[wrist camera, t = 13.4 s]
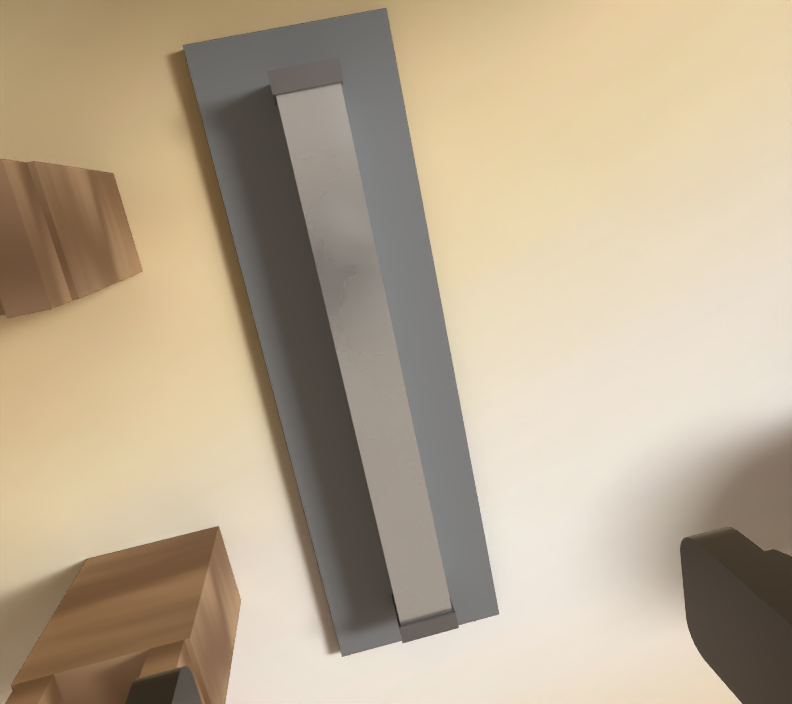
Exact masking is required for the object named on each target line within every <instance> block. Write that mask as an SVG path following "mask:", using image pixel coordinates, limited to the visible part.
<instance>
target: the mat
mask: <svg viewBox="0 0 792 704" xmlns="http://www.w3.org/2000/svg"><path fill="white" fill-rule="evenodd" d="M183 48H184V52H185V56H186V60H187V64H188V68H189V71H190V75H191V79H192V83H193V87H194V91H195V94H196V98H197V102H198V106H199V110H200V114H201V117H202V121H203V125H204V129H205V133H206V137H207V140H208V144H209V148H210V152H211V156H212V160H213V163H214V167H215V171H216V175H217V179H218V183H219V186H220V190H221V194H222V198H223V202H224V206H225V209H226V213H227V217H228V221H229V225H230V229H231V232H232V236H233V240H234V244H235V248H236V252H237V255H238V259H239V263H240V267H241V271H242V275H243V278H244V282H245V286H246V290H247V294H248V298H249V301H250V305H251V309H252V313H253V317H254V321H255V324H256V328H257V332H258V336H259V340H260V344H261V347H262V351H263V355H264V359H265V363H266V367H267V370H268V374H269V378H270V382H271V386H272V390H273V393H274V397H275V401H276V405H277V409H278V413H279V416H280V420H281V424H282V428H283V432H284V436H285V439H286V443H287V447H288V451H289V455H290V459H291V462H292V466H293V470H294V474H295V478H296V482H297V485H298V489H299V493H300V497H301V501H302V505H303V508H304V512H305V516H306V520H307V524H308V528H309V531H310V535H311V539H312V543H313V547H314V551H315V554H316V558H317V562H318V566H319V570H320V574H321V577H322V581H323V585H324V589H325V593H326V597H327V600H328V604H329V608H330V612H331V616H332V620H333V623H334V627H335V631H336V635H337V639H338V643H339V646H340V650H341V654H342V657H343V656H347V655H351V654H354V653H358V652H362V651H365V650H369V649H373V648H376V647H380V646H384V645H388V644H391V643H395V642H399V641H402V638H401V634H400V630H399V625H398V621H397V617H396V612H395V608H394V603H393V599H392V595H391V594H393V590H392V586H391V582H390V577H389V573H388V569H387V565H386V560H385V556H384V552H383V548H382V544H381V539H380V535H379V531H378V527H377V522H376V518H375V514H374V510H373V505H372V501H371V497H370V493H369V488H368V484H367V480H366V476H365V471H364V467H363V463H362V459H361V455H360V450H359V446H358V442H357V438H356V433H355V429H354V425H353V421H352V416H351V412H350V408H349V404H348V399H347V395H346V391H345V387H344V382H343V378H342V374H341V370H340V365H339V361H338V357H337V353H336V349H335V344H334V340H333V336H332V332H331V327H330V323H329V319H328V315H327V310H326V306H325V302H324V298H323V293H322V289H321V285H320V281H319V276H318V272H317V268H316V264H315V260H314V255H313V251H312V247H311V243H310V238H309V234H308V230H307V226H306V221H305V217H304V213H303V209H302V204H301V200H300V196H299V192H298V187H297V183H296V179H295V175H294V170H293V166H292V162H291V158H290V154H289V149H288V145H287V141H286V137H285V132H284V128H283V124H282V120H281V115H280V111H279V107H278V105H275V101H274V98H273V94H272V90H271V85H270V81H269V77H268V73H267V71H272V70H277V69H282V68H287V67H292V66H297V65H303V64H308V63H313V62H318V61H323V60H328V59H334V58H339V61H340V65H341V70H342V75H343V80H344V82H343V85H342V91H343V95H344V100H345V105H346V110H347V114H348V119H349V124H350V129H351V133H352V138H353V143H354V147H355V152H356V157H357V162H358V166H359V171H360V176H361V181H362V185H363V190H364V195H365V200H366V204H367V209H368V214H369V218H370V223H371V228H372V233H373V237H374V242H375V247H376V252H377V256H378V261H379V266H380V270H381V275H382V280H383V285H384V289H385V294H386V299H387V304H388V308H389V313H390V318H391V322H392V327H393V332H394V337H395V341H396V346H397V351H398V356H399V360H400V365H401V370H402V375H403V379H404V384H405V389H406V393H407V398H408V403H409V408H410V412H411V417H412V422H413V427H414V431H415V436H416V441H417V445H418V450H419V455H420V460H421V464H422V469H423V474H424V479H425V483H426V488H427V493H428V497H429V502H430V507H431V512H432V516H433V521H434V526H435V531H436V535H437V540H438V545H439V550H440V554H441V559H442V564H443V568H444V573H445V578H446V583H447V587H448V592H449V596H450V599H451V602H452V604H453V607H454V610H455V613H456V617H457V622H458V625H461V624H465V623H468V622H472V621H476V620H480V619H483V618H487V617H491V616H494V615H498V614H499V610H498V605H497V600H496V594H495V589H494V584H493V578H492V573H491V567H490V562H489V557H488V551H487V546H486V541H485V535H484V530H483V524H482V519H481V514H480V508H479V503H478V498H477V492H476V487H475V482H474V476H473V471H472V465H471V460H470V455H469V449H468V444H467V439H466V433H465V428H464V422H463V417H462V412H461V406H460V401H459V396H458V390H457V385H456V380H455V374H454V369H453V363H452V358H451V353H450V347H449V342H448V337H447V331H446V326H445V320H444V315H443V310H442V304H441V299H440V294H439V288H438V283H437V278H436V272H435V267H434V261H433V256H432V251H431V245H430V240H429V235H428V229H427V224H426V219H425V213H424V208H423V202H422V197H421V192H420V186H419V181H418V176H417V170H416V165H415V159H414V154H413V149H412V143H411V138H410V133H409V127H408V122H407V117H406V111H405V106H404V100H403V95H402V90H401V84H400V79H399V74H398V68H397V63H396V57H395V52H394V47H393V41H392V36H391V31H390V25H389V20H388V15H387V9H386V8H383V9H378V10H372V11H367V12H361V13H356V14H350V15H345V16H339V17H334V18H329V19H323V20H318V21H312V22H307V23H301V24H296V25H290V26H285V27H280V28H274V29H269V30H263V31H258V32H252V33H247V34H241V35H236V36H230V37H225V38H220V39H214V40H209V41H203V42H198V43H192V44H187V45H183Z"/></svg>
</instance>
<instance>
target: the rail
mask: <svg viewBox="0 0 792 704" xmlns="http://www.w3.org/2000/svg"><path fill="white" fill-rule="evenodd" d="M267 73H268V77H269V81H270V85H271V90H272V94H273V98H274V101H275V105H278V107H279V111H280V115H281V120H282V124H283V128H284V132H285V137H286V141H287V145H288V149H289V154H290V158H291V162H292V166H293V170H294V175H295V179H296V183H297V187H298V192H299V196H300V200H301V204H302V209H303V213H304V217H305V221H306V226H307V230H308V234H309V238H310V243H311V247H312V251H313V255H314V260H315V264H316V268H317V272H318V276H319V281H320V285H321V289H322V293H323V298H324V302H325V306H326V310H327V315H328V319H329V323H330V327H331V332H332V336H333V340H334V344H335V349H336V353H337V357H338V361H339V365H340V370H341V374H342V378H343V382H344V387H345V391H346V395H347V399H348V404H349V408H350V412H351V416H352V421H353V425H354V429H355V433H356V438H357V442H358V446H359V450H360V455H361V459H362V463H363V467H364V471H365V476H366V480H367V484H368V488H369V493H370V497H371V501H372V505H373V510H374V514H375V518H376V522H377V527H378V531H379V535H380V539H381V544H382V548H383V552H384V556H385V560H386V565H387V569H388V573H389V577H390V582H391V586H392V590H393V594H391V595H392V599H393V603H394V608H395V612H396V617H397V621H398V625H399V630H400V634H401V638H402V642H403V643H405V642H409V641H413V640H416V639H420V638H423V637H427V636H431V635H434V634H438V633H442V632H445V631H449V630H452V629H456V628H459V627H458V622H457V617H456V613H455V610H454V607H453V604H452V602H451V599H450V596H449V592H448V587H447V583H446V578H445V573H444V568H443V564H442V559H441V554H440V550H439V545H438V540H437V535H436V531H435V526H434V521H433V516H432V512H431V507H430V502H429V497H428V493H427V488H426V483H425V479H424V474H423V469H422V464H421V460H420V455H419V450H418V445H417V441H416V436H415V431H414V427H413V422H412V417H411V412H410V408H409V403H408V398H407V393H406V389H405V384H404V379H403V375H402V370H401V365H400V360H399V356H398V351H397V346H396V341H395V337H394V332H393V327H392V322H391V318H390V313H389V308H388V304H387V299H386V294H385V289H384V285H383V280H382V275H381V270H380V266H379V261H378V256H377V252H376V247H375V242H374V237H373V233H372V228H371V223H370V218H369V214H368V209H367V204H366V200H365V195H364V190H363V185H362V181H361V176H360V171H359V166H358V162H357V157H356V152H355V147H354V143H353V138H352V133H351V129H350V124H349V119H348V114H347V110H346V105H345V100H344V95H343V91H342V85H343V82H344V80H343V75H342V70H341V65H340V61H339V58H334V59H328V60H323V61H318V62H313V63H308V64H303V65H297V66H292V67H287V68H282V69H277V70H272V71H267Z"/></svg>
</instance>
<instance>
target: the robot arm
mask: <svg viewBox="0 0 792 704" xmlns="http://www.w3.org/2000/svg"><path fill="white" fill-rule="evenodd" d="M680 553H681V565H682V576H683V587H684V598H685V610H686V619H687V624H688V628H689V631H690V634H691V637H692V639H693V641H694V644H695V646H696V647H697V649H698V651H699V653H700V654H701V656H702V657H703V659H704V660H705V661H706V662H707V663H708V665H709V666H710V667H711V668H712V669H713V670H714V671H715V673H716V674H717V675H718V676H719V677H720V678H721V679H722V681H723V682H724V683H725V684H726V685H727V686H728V688H729V689H730V690H731V691H732V692H733V693H734V694H735V696H736V697H737V698H738V699H739V700H740V701H741V703H742V704H792V556H789V555H787V554H784V553H782V552H779V551H777V550H774V549H773V550H769V551H765V552H764V551H763V550H762V549H761V548H759V547H758V546H757V545H755V544H754V543H753V542H751V541H750V540H749V539H748V538H746V537H745V536H744V535H742V534H741V533H740V532H738V531H737V530H735V529H734V528H731V527H725V528H721V529H717V530H713V531H710V532H706V533H702V534H698V535H694V536H690V537H687V538H684V539H683V540H682V542H681V547H680ZM125 704H202V702H201V698H200V695H199V692H198V689H197V686H196V683H195V680H194V677H193V674H192V672H191V670H190V669H189V668H188V667H187V666H183V667H179V668H175V669H171V670H168V671H164V672H160V673H156V674H152V675H148V676H144V677H141V678H137V679H135V680H134V682H133V683H132V686H131V688H130V691H129V694H128V697H127V699H126V702H125Z"/></svg>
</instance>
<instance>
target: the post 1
mask: <svg viewBox="0 0 792 704" xmlns="http://www.w3.org/2000/svg"><path fill="white" fill-rule="evenodd" d="M140 272H142V268H141V264H140V261H139V258H138V254H137V251H136V248H135V244H134V241H133V238H132V234H131V231H130V228H129V224H128V221H127V218H126V214H125V211H124V208H123V204H122V201H121V198H120V194H119V191H118V188H117V184H116V181H115V177H114V174H113V173H108V172H101V171H94V170H88V169H81V168H75V167H68V166H62V165H55V164H49V163H42V162H35V161H33V162H28V163H25V162H19V161H12V160H5V159H0V315H5V314H6V316H7V318H11V317H15V316H20V315H25V314H29V313H34V312H39V311H43V310H48V309H52V308H55V307H57V306H60V305H62V304H64V303H67V302H69V301H71V300H75V299H79V298H82V297H84V296H86V295H89V294H91V293H93V292H96V291H98V290H100V289H102V288H105V287H107V286H109V285H112V284H114V283H116V282H119V281H121V280H123V279H126V278H128V277H130V276H133V275H135V274H137V273H140Z"/></svg>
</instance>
